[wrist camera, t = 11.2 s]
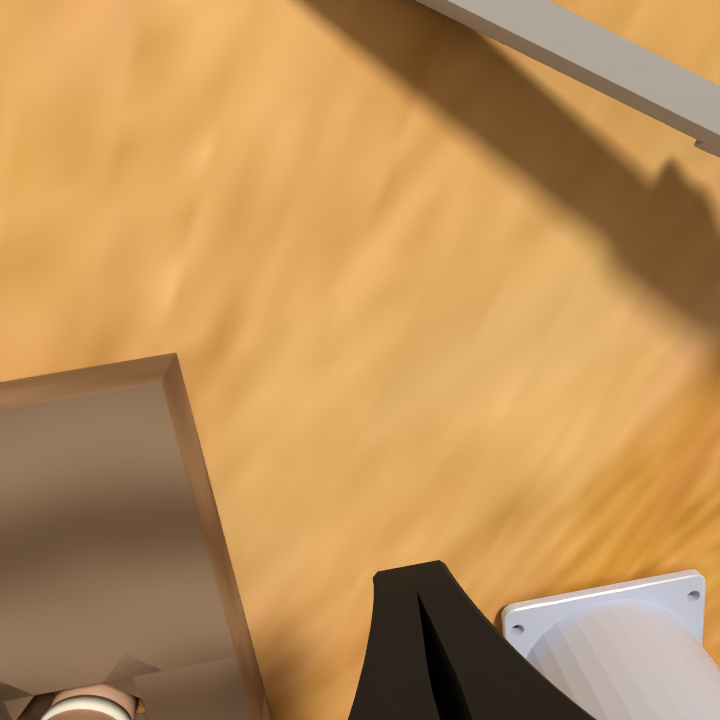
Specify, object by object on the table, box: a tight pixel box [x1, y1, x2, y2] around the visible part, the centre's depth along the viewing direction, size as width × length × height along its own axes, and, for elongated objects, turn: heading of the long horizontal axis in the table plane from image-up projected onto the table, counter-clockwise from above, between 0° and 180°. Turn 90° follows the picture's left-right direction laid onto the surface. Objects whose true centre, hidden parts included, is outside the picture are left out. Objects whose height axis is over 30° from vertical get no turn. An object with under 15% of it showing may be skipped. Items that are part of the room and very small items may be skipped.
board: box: [0, 353, 272, 720], centre depth 22 cm, size 18×11×2 cm, turn 8°
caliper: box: [415, 0, 720, 157], centre depth 16 cm, size 20×1×6 cm, turn 66°
